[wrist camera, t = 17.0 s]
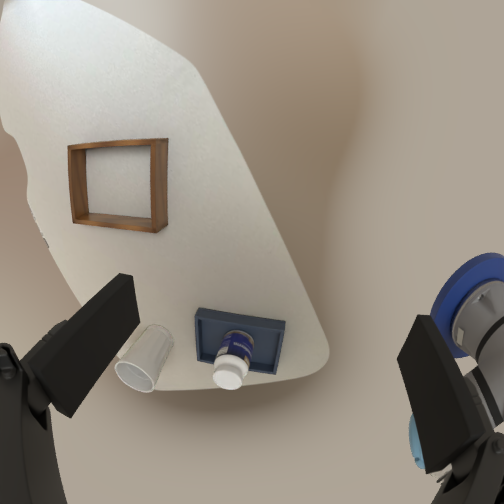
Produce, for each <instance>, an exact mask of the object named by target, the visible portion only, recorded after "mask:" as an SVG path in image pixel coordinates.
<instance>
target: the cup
mask: <svg viewBox="0 0 504 504" xmlns="http://www.w3.org/2000/svg"><path fill="white" fill-rule="evenodd" d="M173 344H174V340H173V337H172V335H171V334H170V332H169V331H167V330H166V329H165V328H163V327H161V326H158V325H150V326H148V327H147V329H146V330H145V332H144V333H143V334H142V335H141V336H140V337H139V338H138V339H137V341H136V342H135V343H134V344H133V345H132V346H131V347H130V349H129V350H128V351H127V352H126V353H125V354H124V355H123V357H122V358H121V359H120V360H119V361H118V362H117V363H116V365H115V370H116V373H117V375H118V376H119V378H120V379H121V380H122V381H123V382H124V383H125V384H127V385H128V386H129V387H131V388H133V389H135V390H138V391H140V392H151V391H152V390H153V389H154V387H155V385H156V382H157V380H158V377H159V374H160V372H161V370H162V367H163V365H164V363H165V360H166V358H167V356H168V354H169V351H170V349H171V348H172V346H173Z"/></svg>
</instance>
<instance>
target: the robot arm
mask: <svg viewBox="0 0 504 504" xmlns="http://www.w3.org/2000/svg"><path fill="white" fill-rule="evenodd" d="M139 323H140V318H139V312H138V307H137V301H136V295H135V288H134V281H133V276H132V275H127V274H122V273H119V274H118V275H117V276H116V277H115V278H113V279H112V280H111V281H110V282H109V283H108V284H107V285H106V286H104V287H103V288H102V289H101V290H100V291H99V292H98V293H97V294H96V295H95V296H94V297H92V298H91V299H90V300H89V301H88V302H87V303H86V304H85V305H84V306H83V307H82V308H81V309H80V310H79V311H78V312H76V314H74V315H73V316H72V317H71V318H70V319H69V320H68V321H67V320H64V321H62V322H60V323H58V324H57V325H55V326H54V327H53V328H52V329H51V330H50V331H49V332H48V334H46V335H45V336H44V337H43V338H42V340H40V341H39V342H38V343H37V344H36V345H35V346H34V347H33V348H32V349H31V350H30V351H29V352H28V353H27V354H26V355H25V356H24V357H23V358H22V359H21V360H20V361H19V359H18V357H17V355H16V353H15V352H14V350H13V348H12V346H11V345H10V344H7V343H0V504H67V501H66V497H65V494H64V490H63V486H62V482H61V478H60V473H59V468H58V464H57V458H56V453H55V447H54V440H53V433H52V424H51V414H50V409H49V407H48V405H49V404H50V403H52V404H53V405H54V407H55V408H56V410H57V411H59V412H60V413H62V414H64V415H65V416H67V417H69V418H72V416H73V415H74V413H75V412H76V410H77V409H78V407H79V405H80V404H81V403H82V401H83V400H84V398H85V397H86V396H87V394H88V393H89V391H90V390H91V389H92V387H93V386H94V384H95V383H96V381H97V380H98V379H99V377H100V376H101V374H102V373H103V372H104V370H105V369H106V368H107V366H108V365H109V363H110V362H111V361H112V359H113V358H114V357H115V355H116V354H117V353H118V351H119V350H120V349H121V347H122V346H123V345H124V343H125V342H126V341H127V339H128V338H129V337H130V335H131V334H132V333H133V331H134V330H135V329H136V327H137V326H138V325H139ZM450 334H451V337H452V339H453V341H454V343H455V344H456V346H457V347H459V348H460V349H461V350H463V351H464V352H466V353H467V354H468V355H470V356H471V357H473V358H474V359H475V360H476V362H477V364H478V366H477V367H475V368H474V369H473V370H472V371H470V372H469V373H467V374H466V375H465V376H462V373H461V371H460V369H459V367H458V365H457V363H456V361H455V359H454V357H453V355H452V353H451V351H450V349H449V348H448V346H447V344H446V342H445V340H444V338H443V336H442V335H441V333H440V331H439V329H438V328H437V326H436V324H435V322H434V321H433V319H432V317H431V315H417V317H416V319H415V322H414V324H413V326H412V328H411V330H410V333H409V335H408V337H407V339H406V341H405V343H404V345H403V347H402V349H401V351H400V353H399V355H398V357H397V361H398V364H399V368H400V371H401V374H402V377H403V380H404V383H405V387H406V390H407V394H408V397H409V401H410V405H411V408H412V412H413V414H412V416H411V419H410V423H409V441H410V447H411V452H412V455H413V457H415V463H416V465H417V466H418V467H419V468H421V469H425V471H426V474H429V473H430V475H431V476H434V477H437V478H439V479H438V480H437V483H438V482H440V481H442V483H441V487H440V489H439V491H438V493H437V494H436V496H435V498H434V500H433V501H432V503H431V504H504V434H502V433H499V432H496V433H495V432H494V430H493V429H494V428H495V427H497V426H498V425H499V424H501V423H502V422H503V421H504V282H503V281H502V280H501V279H499V278H488V279H485V280H483V281H481V282H479V283H478V284H476V285H475V286H474V287H473V288H471V289H470V290H469V291H468V292H467V293H466V295H465V296H464V297H463V298H462V299H461V301H460V302H459V304H458V305H457V307H456V309H455V311H454V313H453V316H452V319H451V323H450ZM480 390H481V391H480ZM481 392H482V393H481ZM482 394H483V395H482ZM485 401H486V402H485ZM488 408H489V409H488ZM491 415H492V416H491ZM492 417H493V418H492ZM493 420H494V421H493Z"/></svg>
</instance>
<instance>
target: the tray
mask: <svg viewBox="0 0 504 504" xmlns="http://www.w3.org/2000/svg"><path fill="white" fill-rule="evenodd" d="M194 317H195V335H196V350H197V361H200V362H205V363H210V364H214V362H215V359H216V356H217V354H218V351H219V348H220V346H221V343H222V340H223V338H224V336H225V335H226V334H227V333H228V332H230V331H233V330H240V331H243V332H246V333H247V334H249V335H250V336H251V337H252V339H253V341H254V348H253V353H252V357H251V361H250V365H249V370H248V371H254V372H260V373H267V374H274V375H276V371H277V367H278V362H279V357H280V352H281V347H282V342H283V336H284V331H285V321H280V320H273V319H266V318H259V317H252V316H246V315H239V314H233V313H227V312H221V311H215V310H210V309H204V308H199V309H198V310H197V312H196V314H195V316H194Z"/></svg>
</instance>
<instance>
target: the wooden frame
mask: <svg viewBox="0 0 504 504" xmlns="http://www.w3.org/2000/svg"><path fill="white" fill-rule="evenodd" d="M127 145H151V162H150V184H151V219H150V218H140V217H130V216H119V215H108V214H97V213H89V209H88V198H87V183H86V150H85V148H96V147H109V146H127ZM167 161H168V138H150V139H128V140H113V141H101V142H91V143H82V144H75V145H69V146H68V176H69V191H70V202H71V212H72V220H73V223H75V224H84V225H92V226H101V227H109V228H117V229H126V230H134V231H142V232H150V233H158V232H159V231H160V230H162V229H163V228H164V227H166V226H167V225H168V216H167Z"/></svg>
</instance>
